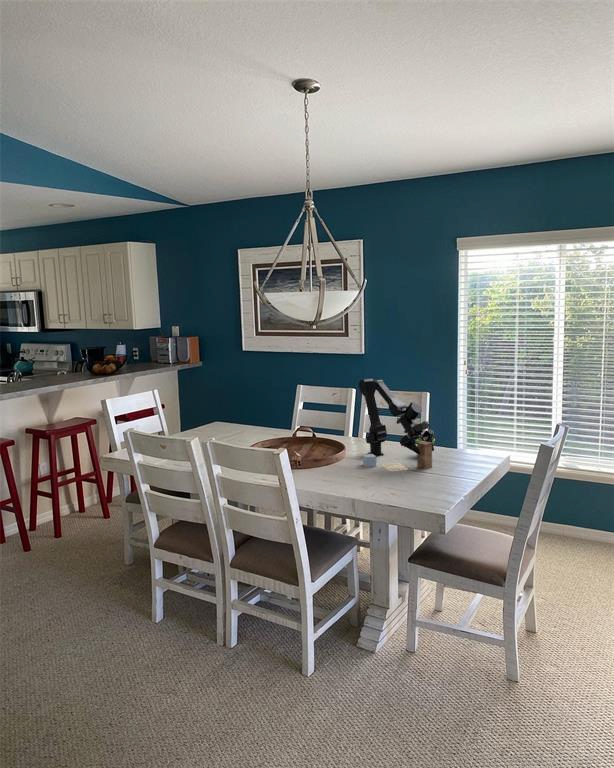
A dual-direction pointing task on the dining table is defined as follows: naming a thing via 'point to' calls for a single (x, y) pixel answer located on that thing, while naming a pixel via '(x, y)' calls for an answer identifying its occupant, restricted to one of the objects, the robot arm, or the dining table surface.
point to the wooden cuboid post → (424, 455)
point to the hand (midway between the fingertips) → (426, 452)
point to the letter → (395, 467)
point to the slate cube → (369, 460)
